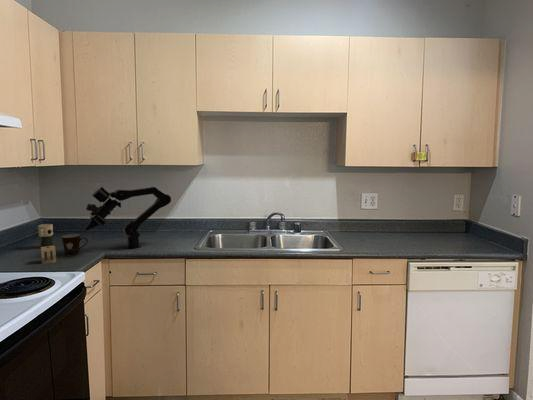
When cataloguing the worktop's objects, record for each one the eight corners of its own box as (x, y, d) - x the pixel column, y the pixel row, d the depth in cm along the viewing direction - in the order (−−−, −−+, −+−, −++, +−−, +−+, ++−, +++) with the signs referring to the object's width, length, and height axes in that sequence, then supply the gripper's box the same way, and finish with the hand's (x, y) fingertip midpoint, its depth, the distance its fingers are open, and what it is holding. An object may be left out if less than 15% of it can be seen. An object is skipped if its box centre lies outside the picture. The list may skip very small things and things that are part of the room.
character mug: (48, 249, 213) (46, 226, 211) (35, 249, 212) (33, 226, 211) (58, 244, 224) (56, 223, 222) (45, 245, 223) (44, 223, 222)
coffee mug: (59, 255, 199) (57, 237, 198) (71, 251, 207) (70, 233, 206) (78, 257, 196) (76, 238, 195) (89, 253, 205) (88, 234, 203)
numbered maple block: (56, 262, 188) (55, 247, 187) (42, 263, 185) (41, 249, 184) (55, 259, 193) (54, 245, 192) (41, 260, 190) (40, 246, 189)
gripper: (93, 196, 212) (72, 217, 208) (97, 200, 196) (74, 222, 192) (109, 209, 217) (88, 230, 213) (114, 214, 201) (92, 236, 197)
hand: (85, 229), depth 203 cm, fingers closed
